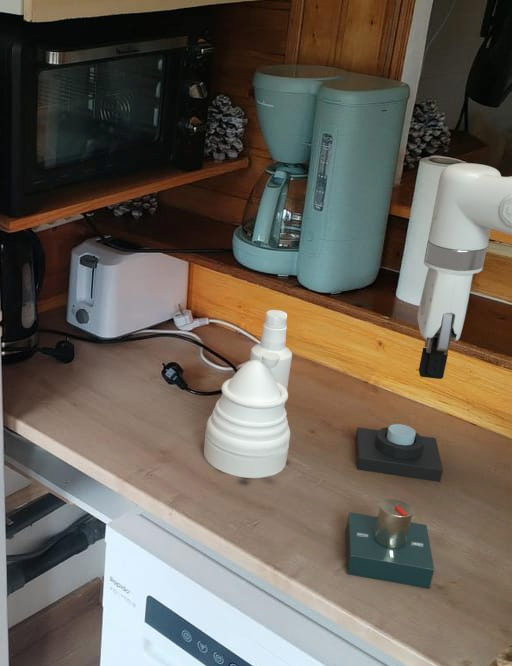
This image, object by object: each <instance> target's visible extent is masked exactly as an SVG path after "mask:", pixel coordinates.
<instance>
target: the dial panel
mask: <svg viewBox="0 0 512 666" xmlns="http://www.w3.org/2000/svg"><path fill="white" fill-rule="evenodd" d="M377 518H378V516H373V515H368V514H361V513H356V512H348V516H347V520H346V526H345V551H346V552H345V553H346V554H345V555H346V574H347V575H351V576H356V577H362V578H369V579H374V580H380V581H385V582H391V583H396V584H402V585H408V586H413V587H417V588H418V587H419V588H424V589H430V588H431V584H432V580H433V576H434V573H435V567H434V560H433V554H432V549H431V543H430V537H429V532H428V531H429V530H428V525H427V524H423V523H418V522H412V521H411V523H410V528H409V532H408V536H407V541H406V544H405V545H404V546H403V547H401V548H389V547H385V546H383V545H381V544H379V543H378V542H377V541H376V540H375V538H374V532H375V527H376V523H377Z"/></svg>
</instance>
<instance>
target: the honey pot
mask: <svg viewBox="0 0 512 666" xmlns="http://www.w3.org/2000/svg"><path fill="white" fill-rule="evenodd" d="M279 359H280V356H279V355H278V354H276V353H272V352H266V353H263V354H262V361H263V362H262V361H260V360H252V361H250V360H249V361H247V362H246V363H244V364H243V365H242V366H241V367H240V368H239V369H238V370H237V371H236V372H235V373H234V374H233V376H232V377H231V378H229V379H226V380H225V381H224V382H223V383H222V385H221V388H220V389H221V393H222V394H221V395H220V398H219V399H217V401H216V403H215V405H214V408H213V410H212V413H211V415H210V416H209V417H208V419H207V422H206V429H205V436H204V444H203V445H204V446H203V456H204V458H205V460H206V461H207V463H208V464H210V465H211V466H212V467H213V468H215V469H217V471H218V470H219V471H220V472H222V473H225V474H227V475H230V476H234V477H238V478H239V477H240V478H245V479H247V478H248V479H262V478H269V477H271V476H275V475H277V474H279V473H281V472H282V471H283V470H284V468H286V465H287V462H288V461H287V460H288V454H289V447H290V440H291V436H292V435H291V429H290V426H289V420H288V417H287V414H288V413H287V409H286V407H284V406H283V404H284V403H285V404H286V402H287V401H288V398H289V392H288V389H287V390H286V388H285V387H284V386H283V385H281V384H280V383H278V382H276V380H275V378H274V375H273V373H272V372H271V370H270V369H269V368H273V367H275V366H276V365H277V363H278V362H279ZM280 393H281V394H280Z"/></svg>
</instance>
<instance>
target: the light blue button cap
mask: <svg viewBox="0 0 512 666" xmlns="http://www.w3.org/2000/svg"><path fill="white" fill-rule="evenodd" d="M388 427H389V428H388V432H387V439H388V440H389V441H390V442H393V443H395V444H399V445H412V444H413V443H414V439H415V434H416V433H417V432H416V430H415V429H414V428H413V427H411V426H408V425H407V424H406V425H405V424H400V423H394V424H390V425H389V426H388Z"/></svg>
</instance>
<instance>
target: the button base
mask: <svg viewBox="0 0 512 666" xmlns="http://www.w3.org/2000/svg"><path fill="white" fill-rule="evenodd" d="M388 428H389V426H386V427H382V428H380V429H373V428H365V427H357V428H356V432H355V437H354V442H355V444H354V445H355V457H356V470H358V471H364V472H370V473H377V474H384V475H391V476H398V477H402V478H403V477H404V478H410V479H416V480H425V481H431V482H438V483H440V482H441V479H442V475H443V471H444V470H443V465H442V460H441V456H440V451H439V445H438V443H437V438H436V437H430V436H423V435H420V434H419V433H417V432H416V434H415V439H414V443H413V444H412V445H399V444H395V443H393V442H390V441H389V440H388V439H387V432H388Z"/></svg>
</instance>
